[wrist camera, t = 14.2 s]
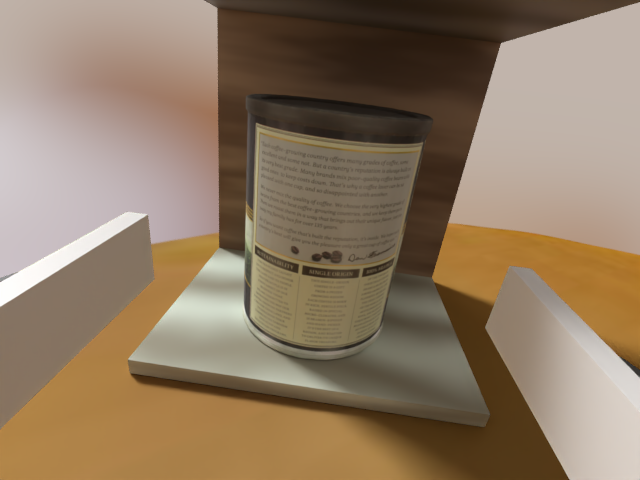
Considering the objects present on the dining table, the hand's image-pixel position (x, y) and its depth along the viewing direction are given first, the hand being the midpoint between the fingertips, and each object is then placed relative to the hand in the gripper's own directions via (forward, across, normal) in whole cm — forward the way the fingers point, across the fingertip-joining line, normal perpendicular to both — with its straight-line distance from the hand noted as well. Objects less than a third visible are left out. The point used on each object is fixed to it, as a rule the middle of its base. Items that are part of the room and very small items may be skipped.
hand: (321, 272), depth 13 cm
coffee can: (+10, 0, -9) cm, 13 cm away
